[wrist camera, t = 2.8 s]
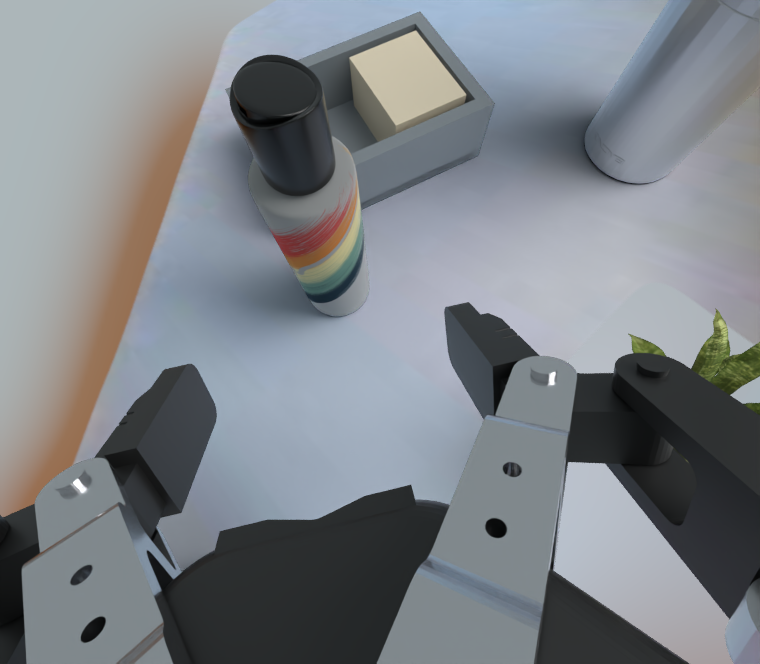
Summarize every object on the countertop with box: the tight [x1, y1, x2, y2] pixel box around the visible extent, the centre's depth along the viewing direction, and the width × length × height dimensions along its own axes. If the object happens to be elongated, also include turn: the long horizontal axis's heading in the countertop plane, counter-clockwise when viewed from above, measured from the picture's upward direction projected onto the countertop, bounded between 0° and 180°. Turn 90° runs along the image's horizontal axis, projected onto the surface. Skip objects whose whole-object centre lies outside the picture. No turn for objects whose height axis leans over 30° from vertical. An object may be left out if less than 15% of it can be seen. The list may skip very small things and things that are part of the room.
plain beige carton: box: [349, 30, 466, 142], centre depth 35 cm, size 7×9×5 cm
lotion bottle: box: [230, 55, 369, 316], centre depth 24 cm, size 6×6×20 cm
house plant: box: [629, 309, 760, 462], centre depth 21 cm, size 14×14×16 cm
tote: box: [225, 12, 495, 210], centre depth 35 cm, size 20×13×6 cm, turn 118°
